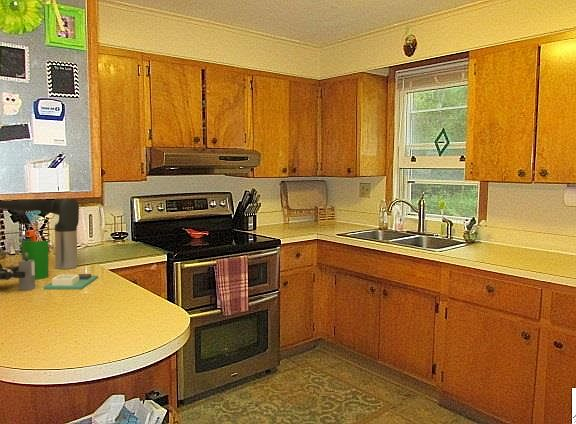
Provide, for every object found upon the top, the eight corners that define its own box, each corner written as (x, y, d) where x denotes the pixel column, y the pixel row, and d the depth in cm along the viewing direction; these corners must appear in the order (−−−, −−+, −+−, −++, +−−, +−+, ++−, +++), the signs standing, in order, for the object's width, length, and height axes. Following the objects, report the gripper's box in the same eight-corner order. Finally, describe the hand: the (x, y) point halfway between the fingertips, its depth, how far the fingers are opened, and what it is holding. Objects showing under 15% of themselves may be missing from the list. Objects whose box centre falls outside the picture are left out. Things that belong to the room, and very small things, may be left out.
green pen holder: (52, 275, 206) (52, 229, 205) (40, 280, 198) (39, 231, 196) (30, 274, 207) (29, 228, 206) (17, 279, 199) (15, 230, 197)
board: (63, 277, 203) (63, 269, 202) (98, 277, 204) (97, 269, 203) (43, 289, 183) (43, 280, 182) (81, 289, 184) (81, 280, 183)
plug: (24, 288, 184) (23, 251, 183) (36, 288, 184) (35, 251, 183) (19, 290, 180) (18, 253, 179) (32, 290, 180) (31, 253, 179)
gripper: (-26, 266, 173) (21, 266, 174) (-5, 258, 187) (38, 259, 189) (-26, 286, 174) (21, 286, 175) (-5, 277, 188) (38, 278, 189)
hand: (30, 272), depth 182 cm, fingers open, 8 cm apart
